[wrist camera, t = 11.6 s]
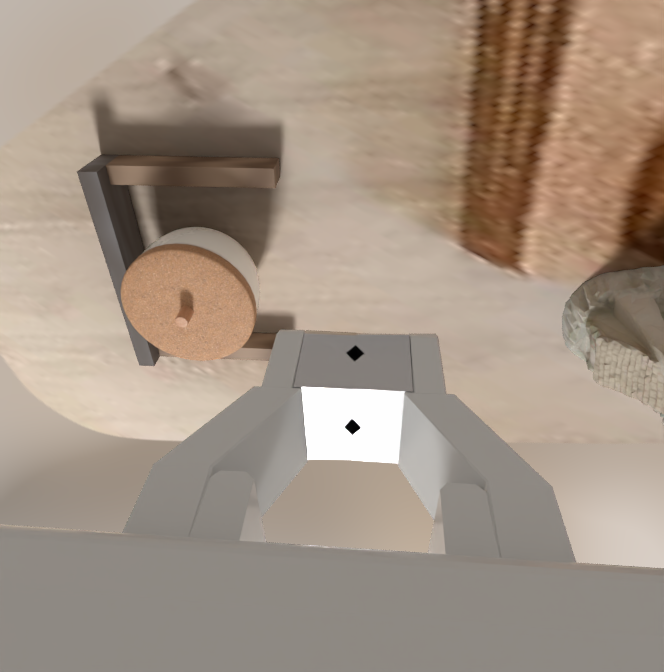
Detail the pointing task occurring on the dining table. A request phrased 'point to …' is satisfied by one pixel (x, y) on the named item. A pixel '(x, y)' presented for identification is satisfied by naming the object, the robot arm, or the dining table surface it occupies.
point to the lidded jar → (193, 294)
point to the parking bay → (122, 230)
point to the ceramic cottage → (621, 332)
